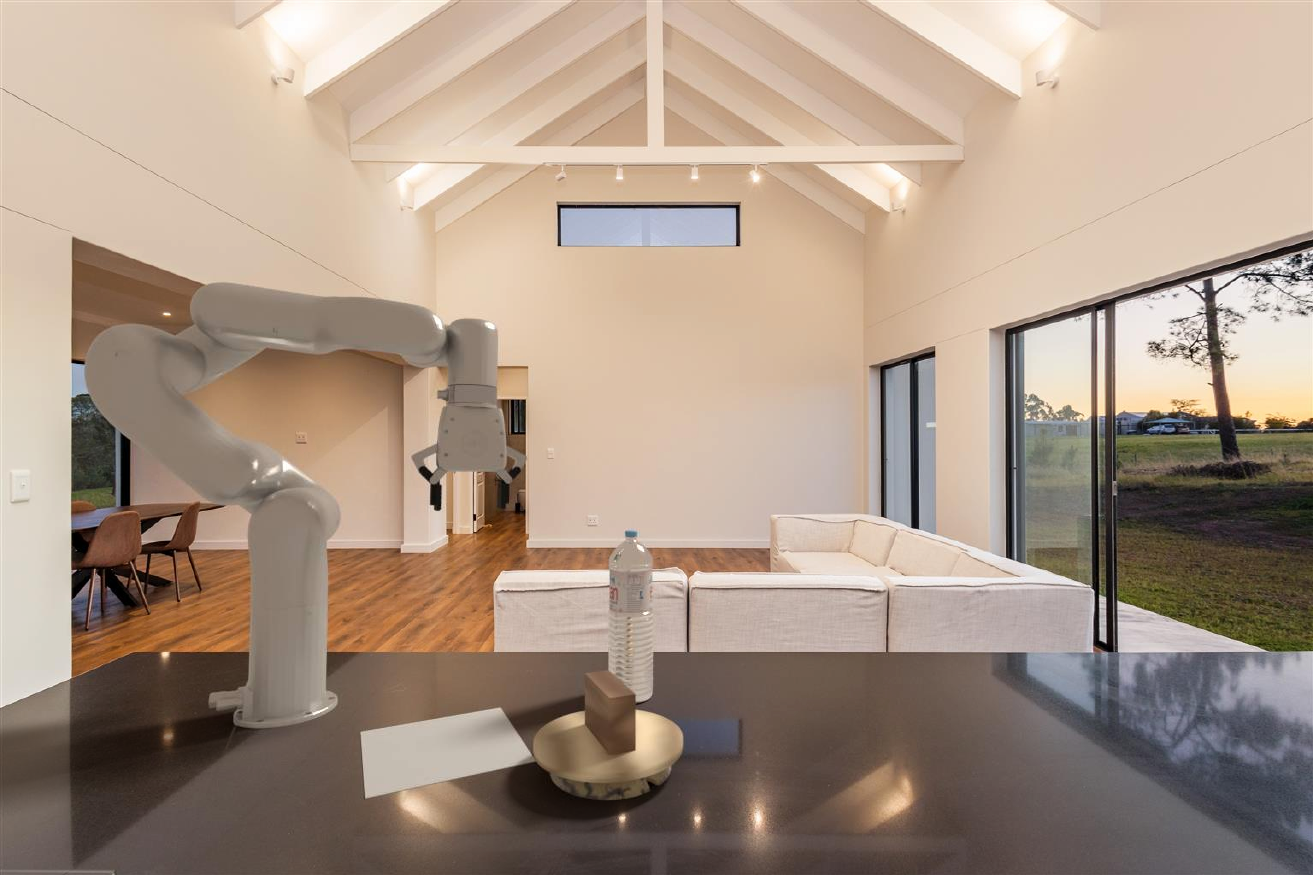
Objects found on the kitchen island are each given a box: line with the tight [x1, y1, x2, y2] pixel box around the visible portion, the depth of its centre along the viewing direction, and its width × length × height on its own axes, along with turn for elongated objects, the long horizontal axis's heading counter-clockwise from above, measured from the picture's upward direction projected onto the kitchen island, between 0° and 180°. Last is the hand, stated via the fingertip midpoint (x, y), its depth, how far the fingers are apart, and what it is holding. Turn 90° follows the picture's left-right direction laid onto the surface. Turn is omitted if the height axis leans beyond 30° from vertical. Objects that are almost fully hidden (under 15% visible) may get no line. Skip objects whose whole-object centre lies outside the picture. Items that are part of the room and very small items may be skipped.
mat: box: [359, 707, 537, 800], centre depth 76 cm, size 18×18×1 cm
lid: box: [532, 669, 684, 783], centre depth 71 cm, size 17×17×7 cm
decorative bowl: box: [549, 765, 672, 801], centre depth 71 cm, size 15×4×15 cm
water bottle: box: [607, 529, 654, 704], centre depth 95 cm, size 7×7×25 cm
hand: (470, 509), depth 96 cm, fingers open, 9 cm apart
